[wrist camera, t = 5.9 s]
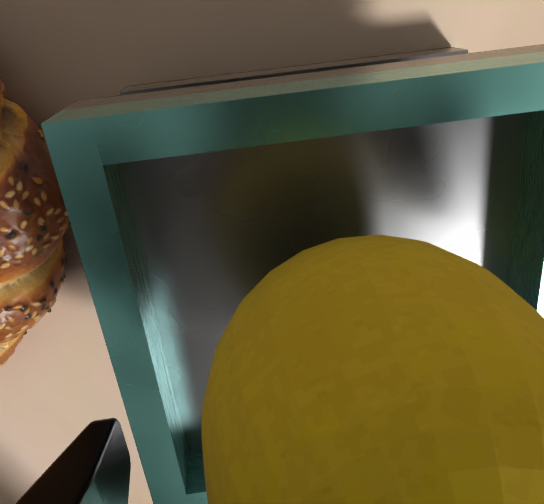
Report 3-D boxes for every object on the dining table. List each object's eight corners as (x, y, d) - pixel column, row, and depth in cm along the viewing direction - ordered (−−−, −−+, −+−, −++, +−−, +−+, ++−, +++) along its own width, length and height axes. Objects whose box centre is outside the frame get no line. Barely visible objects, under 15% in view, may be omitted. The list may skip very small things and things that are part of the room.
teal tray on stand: (449, 326, 18) (546, 465, 13) (178, 363, 18) (158, 522, 13) (463, 34, 14) (618, 53, 9) (113, 76, 14) (40, 123, 8)
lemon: (169, 356, 12) (69, 877, 4) (286, 136, 10) (442, 369, 3) (373, 437, 13) (562, 945, 6) (505, 252, 12) (1006, 623, 4)
